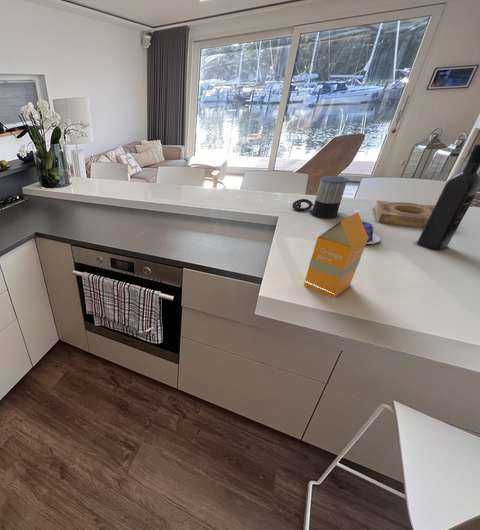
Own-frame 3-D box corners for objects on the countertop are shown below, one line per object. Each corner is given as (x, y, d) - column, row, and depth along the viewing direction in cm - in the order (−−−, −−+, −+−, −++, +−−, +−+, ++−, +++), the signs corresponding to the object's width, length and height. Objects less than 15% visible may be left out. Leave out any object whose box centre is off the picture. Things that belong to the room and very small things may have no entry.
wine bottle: (448, 247, 89) (505, 144, 74) (436, 251, 88) (492, 147, 73) (426, 240, 94) (475, 142, 79) (414, 244, 93) (462, 145, 78)
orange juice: (350, 285, 77) (377, 215, 67) (333, 298, 73) (360, 225, 63) (319, 274, 83) (340, 207, 73) (302, 285, 79) (322, 216, 69)
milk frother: (339, 219, 113) (351, 182, 106) (294, 217, 119) (302, 181, 112) (331, 207, 125) (342, 172, 117) (290, 205, 130) (298, 172, 123)
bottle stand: (433, 213, 111) (437, 204, 109) (445, 230, 99) (450, 220, 97) (374, 208, 120) (377, 200, 118) (378, 222, 108) (381, 214, 106)
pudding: (332, 229, 106) (336, 216, 103) (372, 232, 102) (377, 218, 99) (340, 244, 97) (345, 229, 94) (385, 247, 92) (391, 232, 90)
